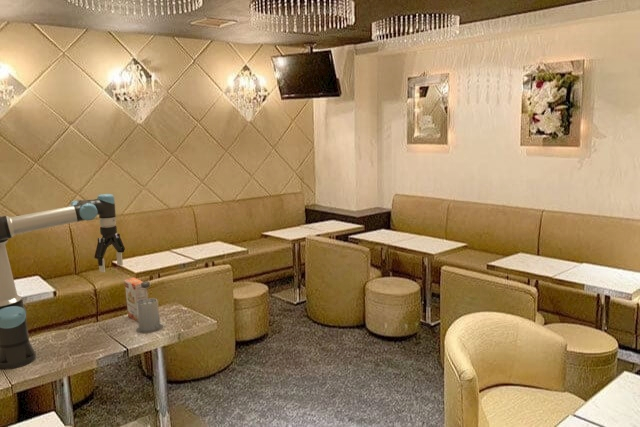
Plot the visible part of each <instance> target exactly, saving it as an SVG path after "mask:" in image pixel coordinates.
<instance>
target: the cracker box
mask: <svg viewBox="0 0 640 427" xmlns="http://www.w3.org/2000/svg"><path fill="white" fill-rule="evenodd" d="M142 282H143V281H142V280H140V279H138V278H136V277H131V278H127V279H124V289H125V297H126V298H125V299H126V308H127V316H128V317H129V319H133V320H135V321H136V322H138V316H137V305H136V303H137V301H139V300H142V299H146V296H145V288H142V287H141V283H142Z"/></svg>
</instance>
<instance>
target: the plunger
mask: <svg viewBox="0 0 640 427" xmlns="http://www.w3.org/2000/svg"><path fill="white" fill-rule="evenodd" d="M141 287H142V288H145V296H146V303H143V304H149V303H153V302H148V298H149V296H148V288H150V287H151V285H150V281H142V283H141Z"/></svg>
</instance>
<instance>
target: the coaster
mask: <svg viewBox="0 0 640 427" xmlns="http://www.w3.org/2000/svg"><path fill="white" fill-rule="evenodd" d="M163 328H164V325H163V324H161V323H160V328H159V329H158V330H156V331H152V332H140V331H139V326H138V327H137V328H136V330H135V332H136V333H138V334H145V335H146V334H152V333H156V332H159V331H161V330H162V329H163Z"/></svg>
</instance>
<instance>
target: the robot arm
mask: <svg viewBox="0 0 640 427" xmlns="http://www.w3.org/2000/svg"><path fill="white" fill-rule="evenodd" d="M116 214H117V213H116V203H115V196H114V194H111V193H105V194H99V195H97V198H95V199H83V200H79V199H78V200H72V201H71V202H70V205H68V206H64V207H59V208H58V207H57V208H53V209H49V210H43V211H37V212H32V213H26V214H22V215H17V216H11V217H10V216H8V215H3V216H1V215H0V369H1V370H9V369H16V368H19V367H23V366H26V365H29V364H30V363H33V361H35V360H36V358H37V355H36V351H35V349H34V348H33V345H32V344H31V342H30V338H29V329H28V322H27V310H26V308H25V305H24V301H23V297H22V296H20V295H18V292H17V289H16V284H15V280H14V276H13V271H12V267H11V263H10V259H9V255H8V250H7V247H6V245H7V243H8V241H9V239H11V238H13V237H15V235H19V234H25V233H29V232H34V231H38V230H42V229H43V230H44V229H47V228H54V227H58V226H62V225H67V224H72V223H76V222H83V221H93V220H94V219H96V217H97V216H98V220H99V222H98V223H99V232H100V233H99V234H100V235H101V237H99V238H98V237H97V244H96V249H95V252H94V259H96V260H97V261H98V263H97V264H98V271H99V273H106V267H105V266H106V263H105V258H104V257H105V254H106V251H107V249H108V248H109V247H110V246H111V245H112V247H113V248H114V249H115V250H116V251H117V252H116V253H115V254H116V265H117V266H123V265H124V262H123V253H124V252H125V251H126V248H125V245H124V242H123V241H122V238H121V233H118V228H117V215H116Z"/></svg>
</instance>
